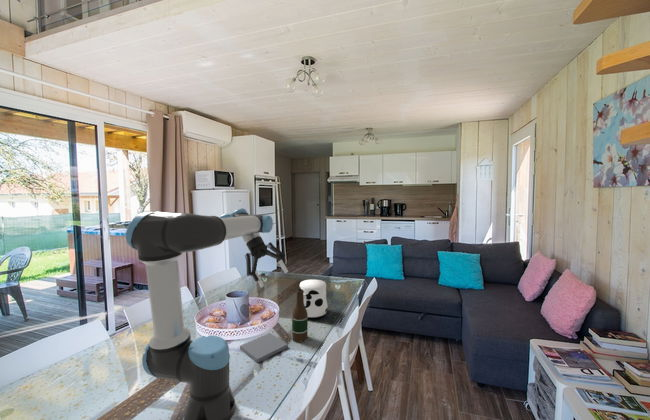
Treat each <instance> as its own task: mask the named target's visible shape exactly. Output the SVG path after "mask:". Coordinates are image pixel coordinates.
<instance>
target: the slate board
mask: <svg viewBox="0 0 650 420" xmlns="http://www.w3.org/2000/svg"><path fill="white" fill-rule="evenodd" d="M288 346H289V344H288V343H286V341H283V340H282V339H281V338H279V337H277V336H275V335H274V334H272V333H271V332H269V333H266V334H263V335H262V336H259V337H257V338H255V339H252V340H250V341H248V342H246V343H245V342H244V343H243V344H241V345H239V349H240V350H241V351H242V353H244V354H246V355H247V357H249V358H251V360H253V361H255V363H260V362H261V361H264V360H266V359H268V358H270V357H272V356H273V355H276V354H277V353H279V352H281V351H283V350H286V349H288Z"/></svg>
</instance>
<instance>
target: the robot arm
mask: <svg viewBox="0 0 650 420" xmlns="http://www.w3.org/2000/svg"><path fill="white" fill-rule="evenodd" d="M273 223H274V221H273V218H272V216H271V215H269V214H268V215H266V214H249V213H248V212H247V210H246V208H244V207H243V208H238V209H236V210H234V211H232V213H223V214H222V215H220V217H219V216H217V215H202V214H201V215H200V214H195V213H189V212H188V213H187V212H169V211H168V212H167V211H166V212H165V211H148V212H147V211H146V212H145V211H144V212H142V213H139V214H137V215H136V216H135V217H133V219H132V220H131V222H129V223H128V225H127V227H126V231H125V240H126V243H127V244H128V246H129V247H131V249H133V250H135V251H137V257H138V261H140V262H141V263H143V264H144V265H145V271H146V280H147V288H148V297H149V305H150V306H149V307H150V313H151V321H152V330H153V335H152V336H151V337H150V339H149V343H148V344H146V346H145V348H144V353H143V354H142V358H141V365H142V369H143V370H144V372H145V373H146V374H147V375H149V376H152V377H154V378H156V379H165V380H169V381H170V380H171V381H175V382H180V383H186V384H188V385H189V397H188V400H187V403H186V405H185V408H184V412H183V413H184V414H183V420H232V417H233V416H234V414H235V412H236V399H235V396H234V393H233V391H232V388H231V386H230V360H231V358H230V357H231V355H230V348H229V345H228V344H229V343H228V342H227V341H226V340H225V339H224V338H223V337H220V336H217V335H208V336H205V335H203V336H201V337H198V338H196V339H194V340H192V339H191V338H192V337H191V329H190V328H188V327H186V326H185V318H184V310H183V309H184V308H183V301H182V290H181V289H182V288H181V278H180V270H179V259H180V257H181V256H182V255H183V253H191V252H196V251H201V250H204V249H208V248H212V247H216V246H219V245H221V244H222V243H223V242H224V241H227V240H231V239H236V238H240V237H242V239H243V241H244V243H246V244H245V246H246V247H247V248H248V251H249V252H246V253H245V255H244V257H245V260H246V261H245V262H246V263H245V264H246V265H245V266H246V276H247V277H250V276H251V277H252V278H253V280H254V281H255V283H258V285H259V286H260V288H261V289H262V288H263V287H265V284H264V282H263V281H262V278H261V277H260V275H259V273H258V272H256V271H257V267H258V263H259V262H258V261H259V259H261V258H263V257H265V256H268V257H271V258H273V259H275V260H278V264H279V266H280V267H281V270H282V271H283V272H284V274H287V273H288V272H289V270H288V268H287V266H286V265H287V264H286V261H285V259H284V258H285V256H286V254H285V253H284V252H283V251H282V250H280V249H279V248H277V247H276V246H275V245H273V243H272V242H269V243H267V244H265V242H264V240H263V238H262V236H260V235H261V233H263V234H267V233H271V231H272V230H273V227H274V224H273ZM251 257H253V262H252V259H251Z"/></svg>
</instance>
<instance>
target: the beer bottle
mask: <svg viewBox="0 0 650 420" xmlns="http://www.w3.org/2000/svg"><path fill="white" fill-rule="evenodd" d="M303 293H304V291H303V290H302V289H299V288H298V289H297V290H296V302H295V306H294V307H293V310H292V314H291V338H292V341H293V342H295V343H303V342H306V341H307V340H308V335H309V334H308V332H309V331H308V327H309V322H308V320H309V318H308V314H307V310H306V308H305V306H304V297H303Z"/></svg>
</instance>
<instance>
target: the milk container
mask: <svg viewBox="0 0 650 420" xmlns="http://www.w3.org/2000/svg"><path fill="white" fill-rule="evenodd" d="M298 289H302V290H303V291H304V293H303V297H304V306H305V308H306V310H307V314H308V319H317V318H321V317H323V316H324V315H326V314H327V311H328V301H327V283H326V281H324V280H320V279H305V280H302V281H300V283H299V287H298Z"/></svg>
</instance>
